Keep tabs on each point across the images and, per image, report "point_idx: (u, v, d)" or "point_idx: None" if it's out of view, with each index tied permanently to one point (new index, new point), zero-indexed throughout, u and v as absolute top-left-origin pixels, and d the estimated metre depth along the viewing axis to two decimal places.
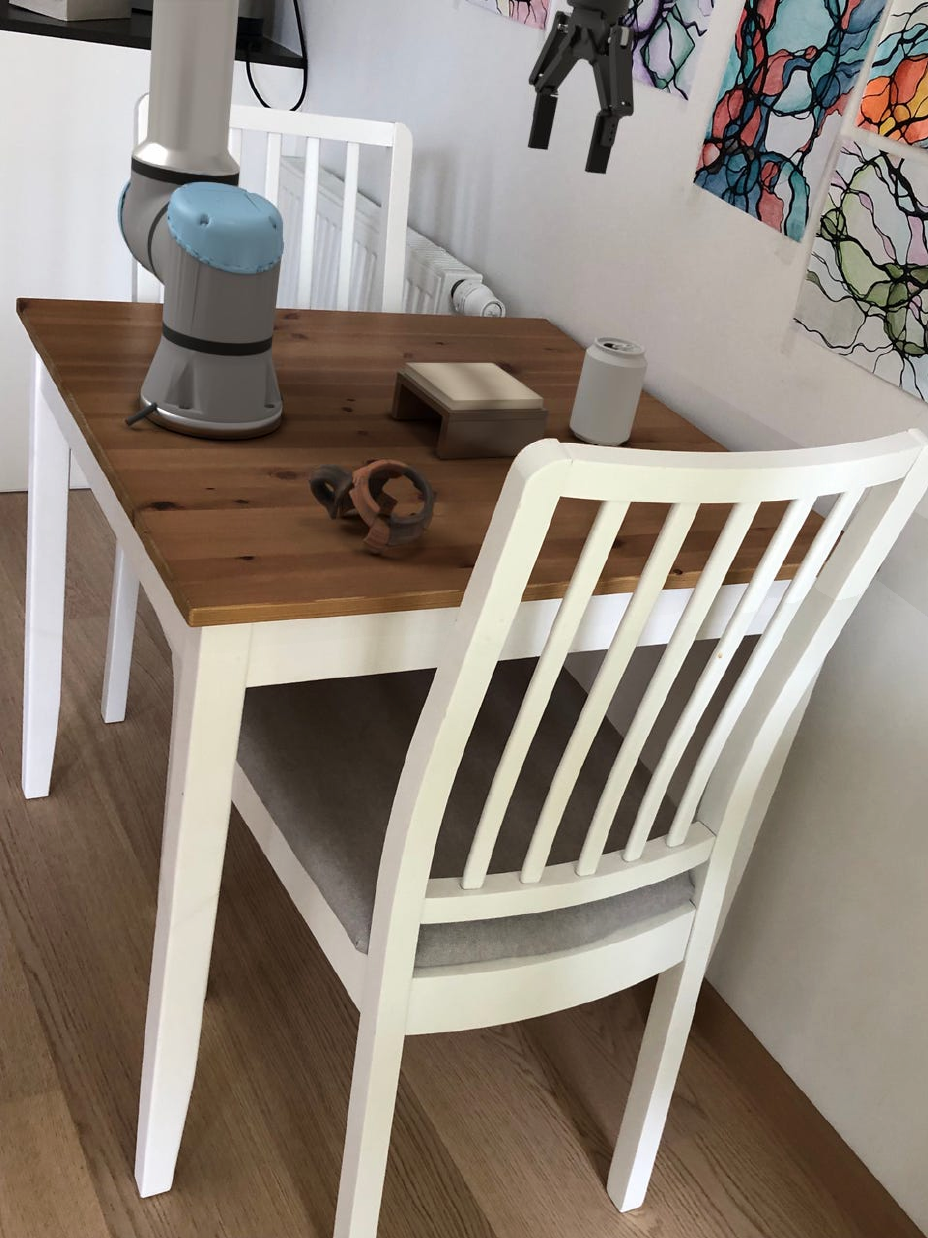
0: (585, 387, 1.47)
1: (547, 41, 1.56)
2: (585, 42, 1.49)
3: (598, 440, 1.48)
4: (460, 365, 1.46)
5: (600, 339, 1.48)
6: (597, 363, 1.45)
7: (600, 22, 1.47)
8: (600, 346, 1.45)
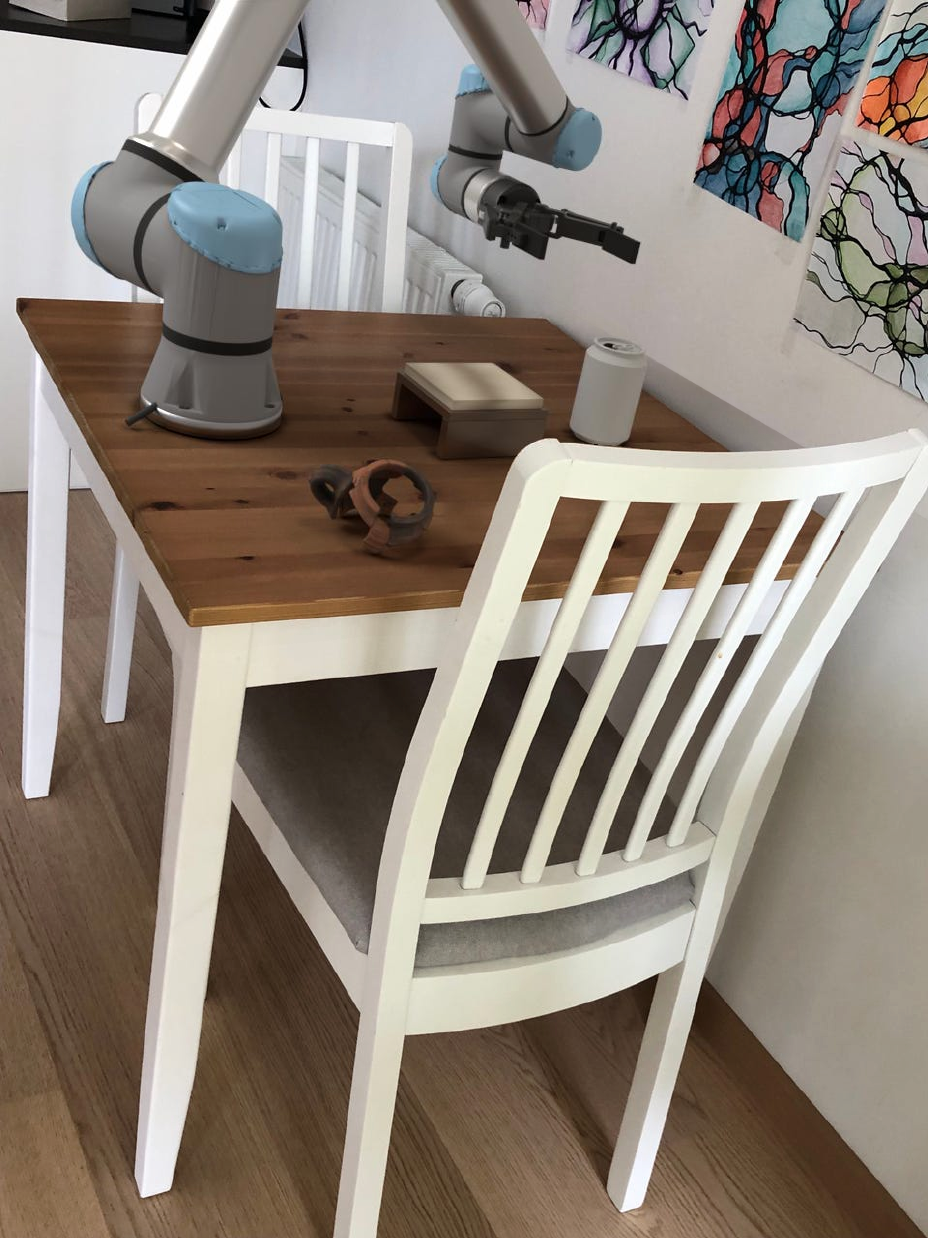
0: (585, 387, 1.47)
1: (488, 209, 1.54)
2: (546, 207, 1.60)
3: (598, 440, 1.48)
4: (460, 365, 1.46)
5: (600, 339, 1.48)
6: (597, 363, 1.45)
7: None
8: (600, 346, 1.45)
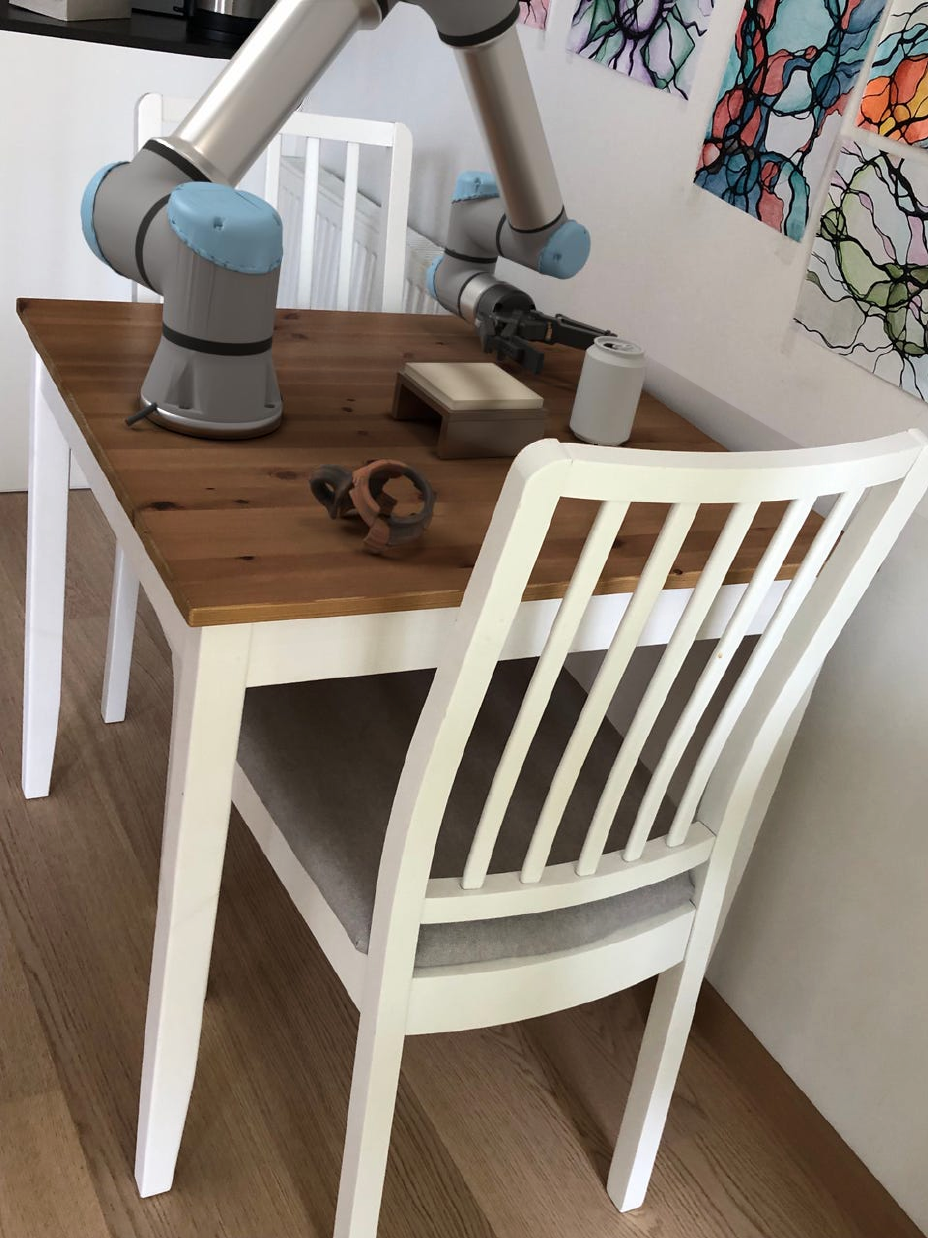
0: (585, 387, 1.47)
1: (485, 320, 1.58)
2: (541, 314, 1.63)
3: (598, 440, 1.48)
4: (460, 365, 1.46)
5: (600, 339, 1.48)
6: (597, 363, 1.45)
7: None
8: (600, 346, 1.45)
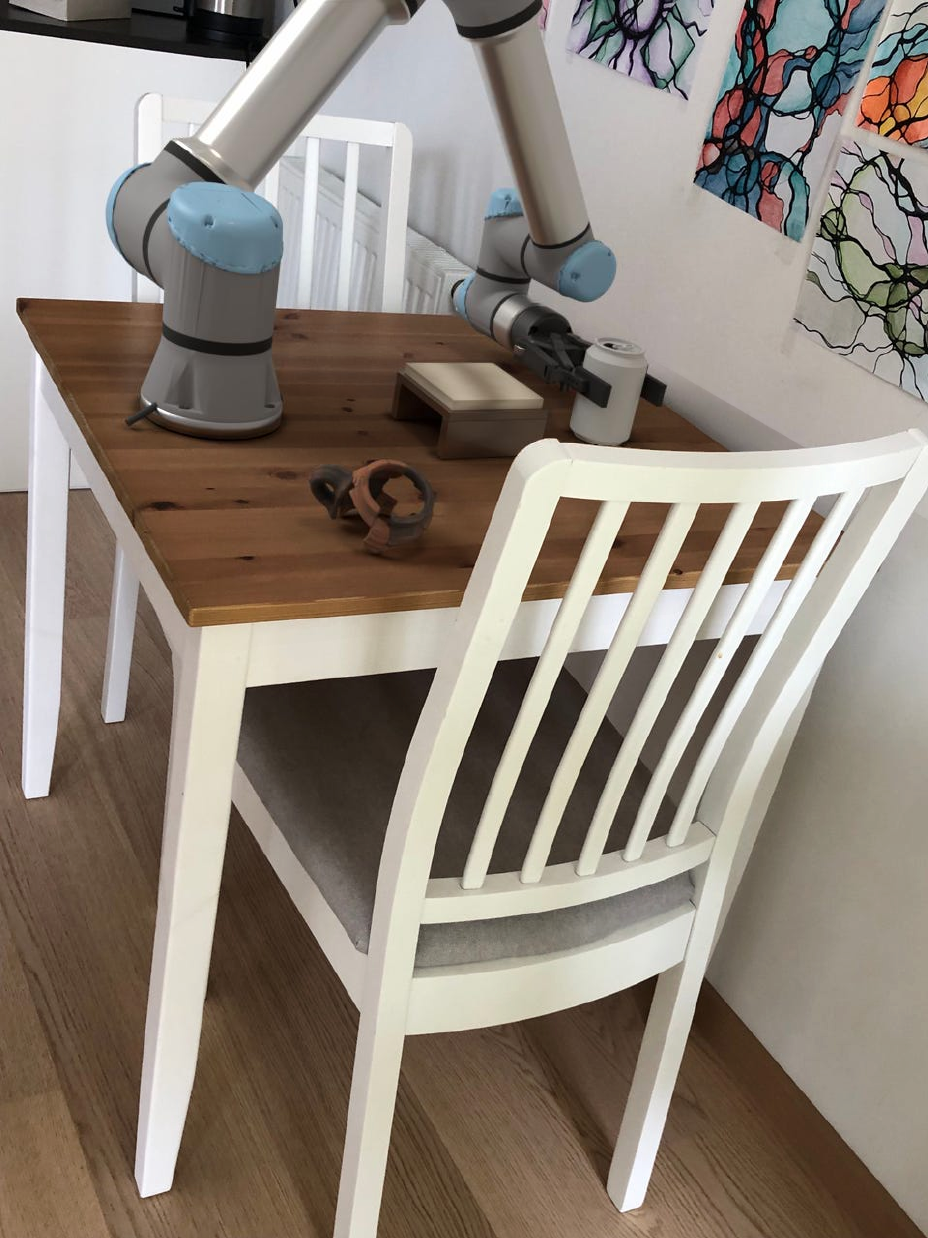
0: None
1: (533, 348, 1.51)
2: (578, 338, 1.56)
3: (598, 440, 1.48)
4: (460, 365, 1.46)
5: (600, 339, 1.48)
6: (597, 363, 1.45)
7: None
8: (600, 346, 1.45)
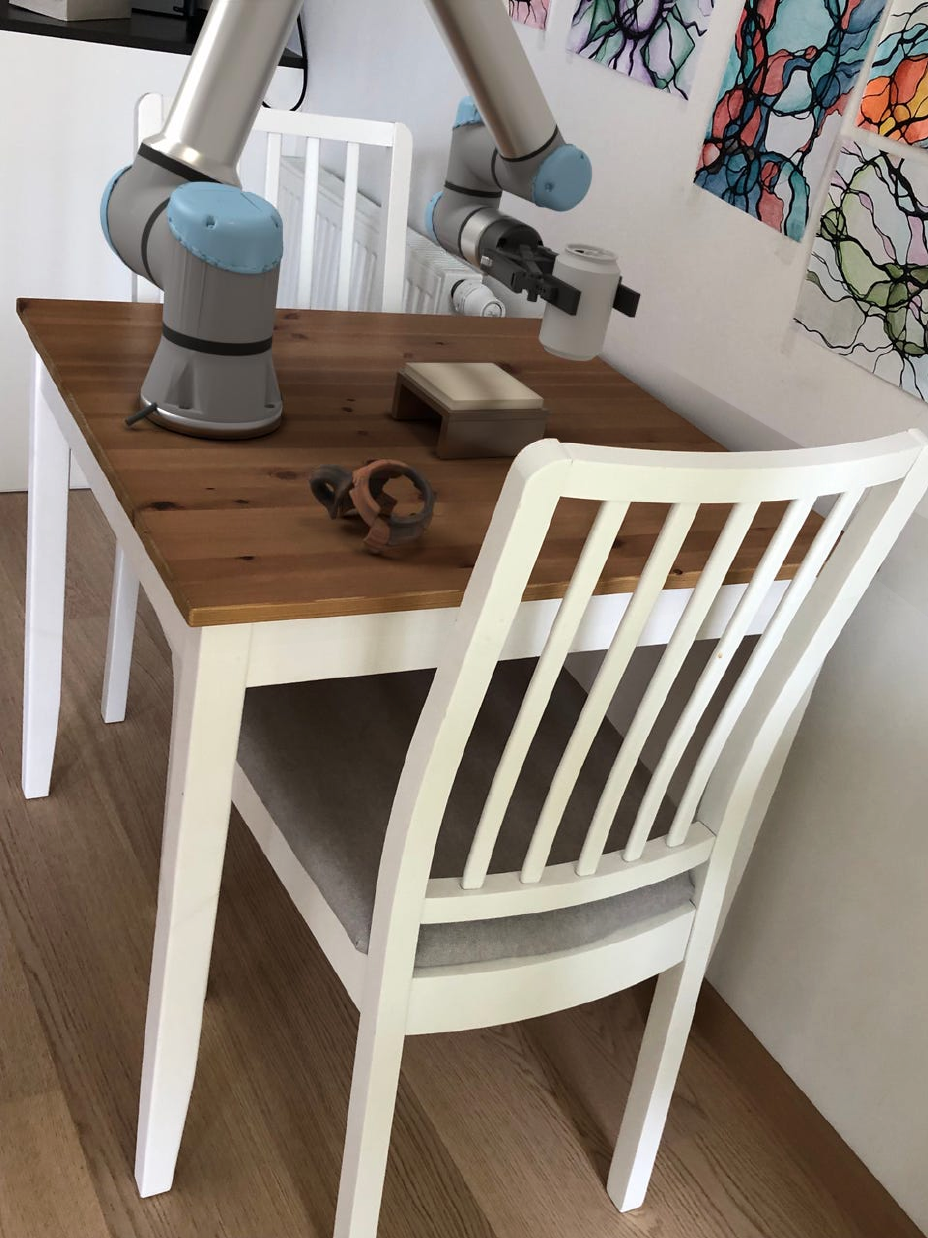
0: None
1: (500, 257, 1.43)
2: (549, 250, 1.49)
3: (568, 352, 1.41)
4: (460, 365, 1.46)
5: (570, 246, 1.40)
6: (567, 269, 1.37)
7: None
8: (570, 251, 1.37)
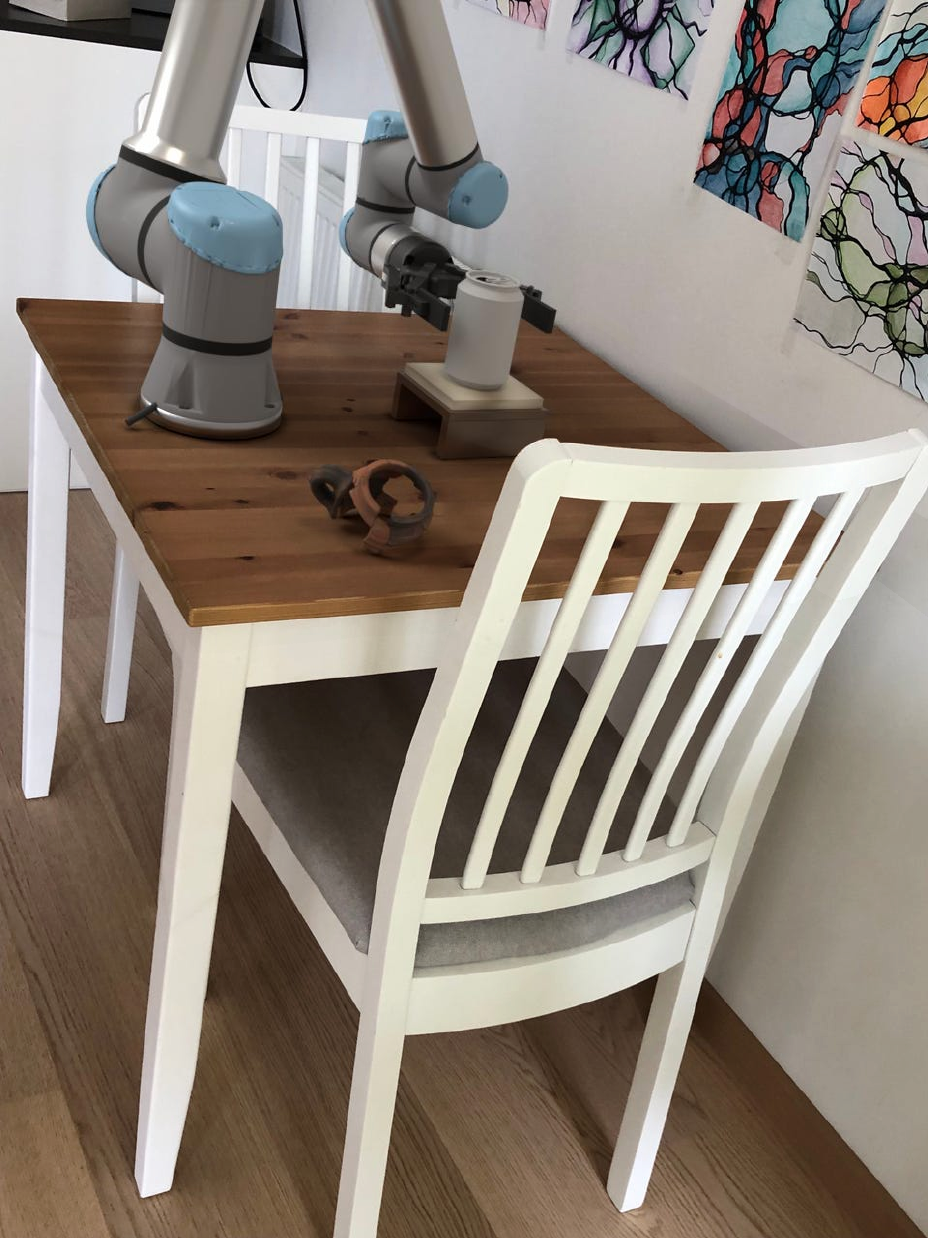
0: (457, 324, 1.36)
1: (390, 272, 1.40)
2: (457, 268, 1.45)
3: (471, 382, 1.38)
4: None
5: (473, 273, 1.37)
6: (468, 297, 1.34)
7: None
8: (470, 279, 1.34)
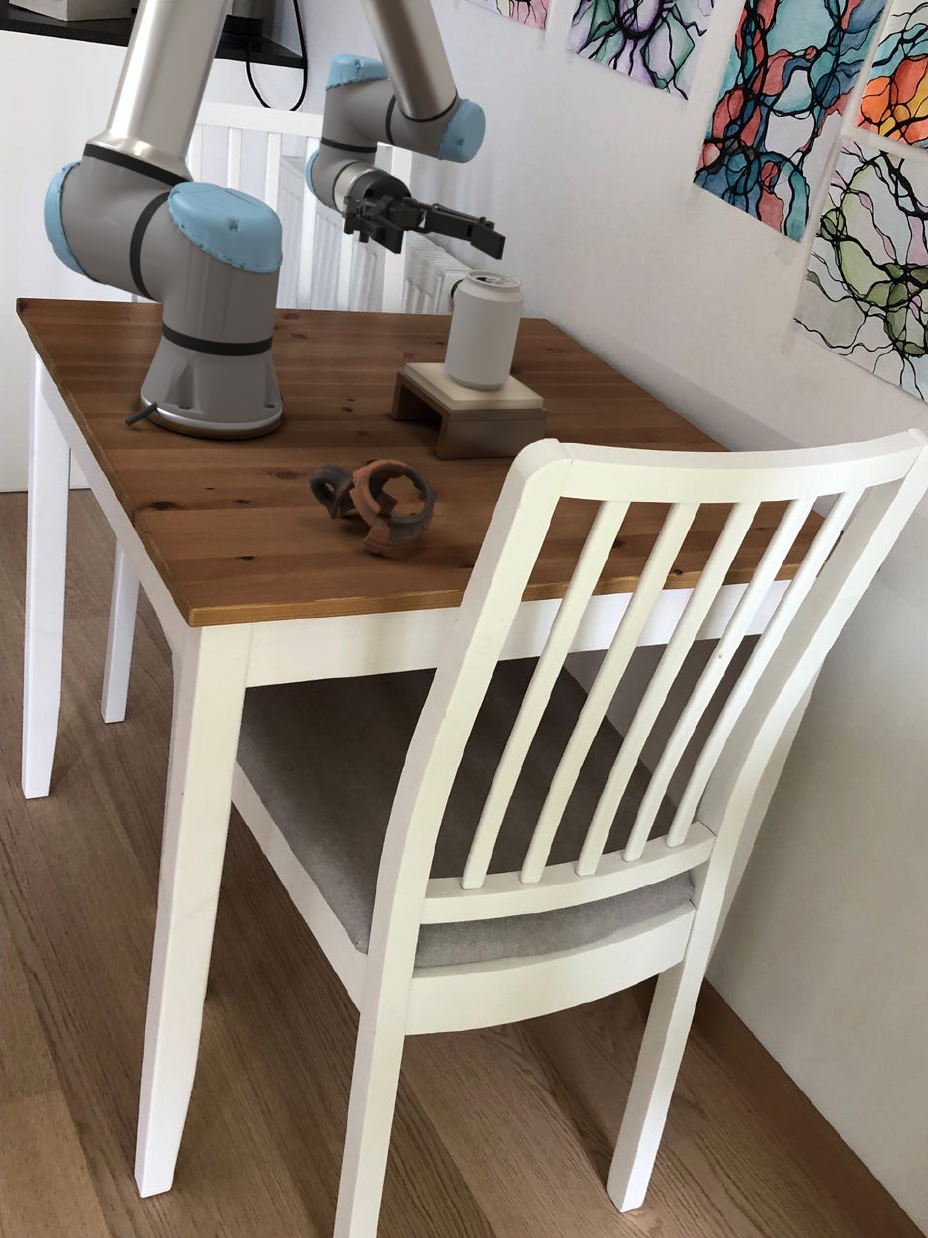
0: (457, 324, 1.36)
1: (349, 202, 1.49)
2: (414, 200, 1.54)
3: (471, 382, 1.38)
4: None
5: (473, 273, 1.37)
6: (468, 297, 1.34)
7: None
8: (470, 279, 1.34)
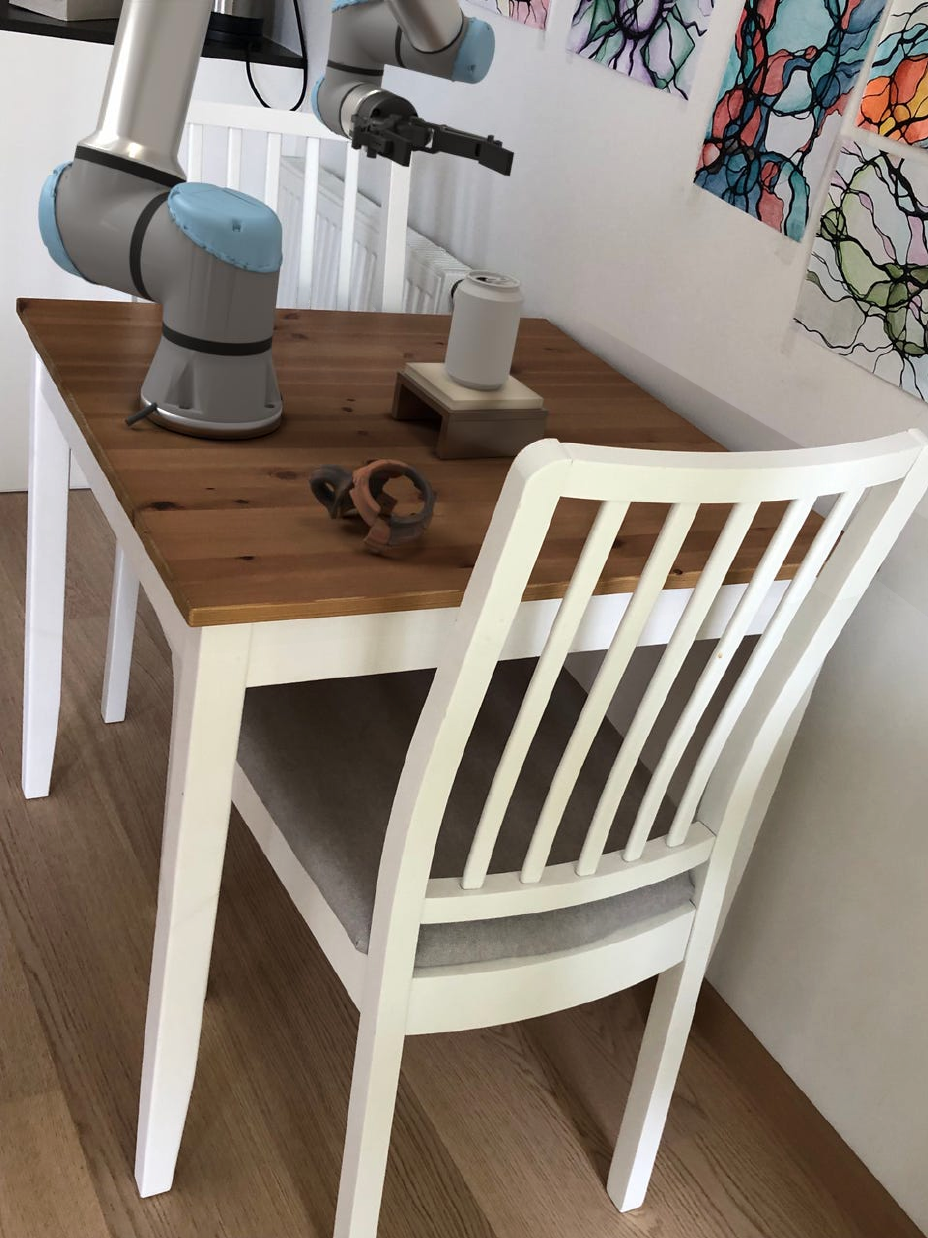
0: (457, 324, 1.36)
1: (357, 119, 1.48)
2: (421, 120, 1.53)
3: (471, 382, 1.38)
4: None
5: (473, 273, 1.37)
6: (468, 297, 1.34)
7: None
8: (470, 279, 1.34)
